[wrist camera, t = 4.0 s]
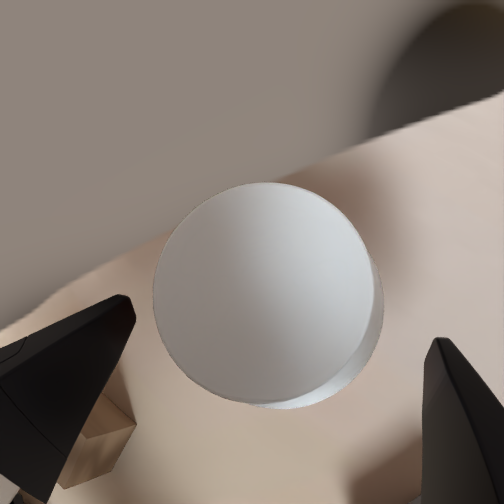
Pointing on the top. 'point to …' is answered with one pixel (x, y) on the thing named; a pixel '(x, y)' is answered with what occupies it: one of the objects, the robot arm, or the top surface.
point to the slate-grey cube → (416, 500)
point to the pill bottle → (268, 296)
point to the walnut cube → (97, 444)
